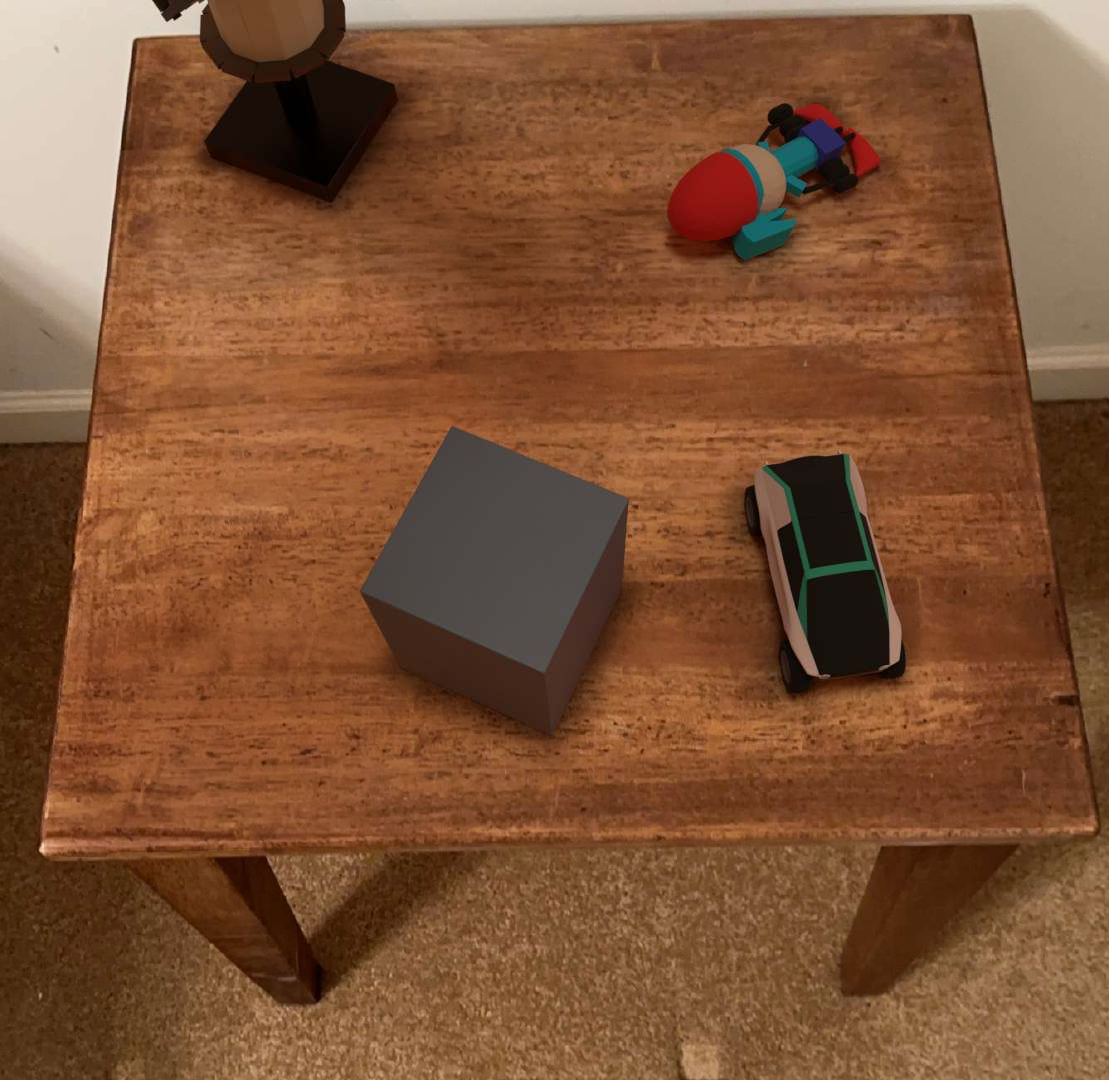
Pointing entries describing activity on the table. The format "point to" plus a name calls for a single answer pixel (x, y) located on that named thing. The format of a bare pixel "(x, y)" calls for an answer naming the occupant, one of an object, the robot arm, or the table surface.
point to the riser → (500, 578)
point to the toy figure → (766, 180)
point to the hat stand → (304, 127)
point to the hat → (271, 36)
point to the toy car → (825, 571)
